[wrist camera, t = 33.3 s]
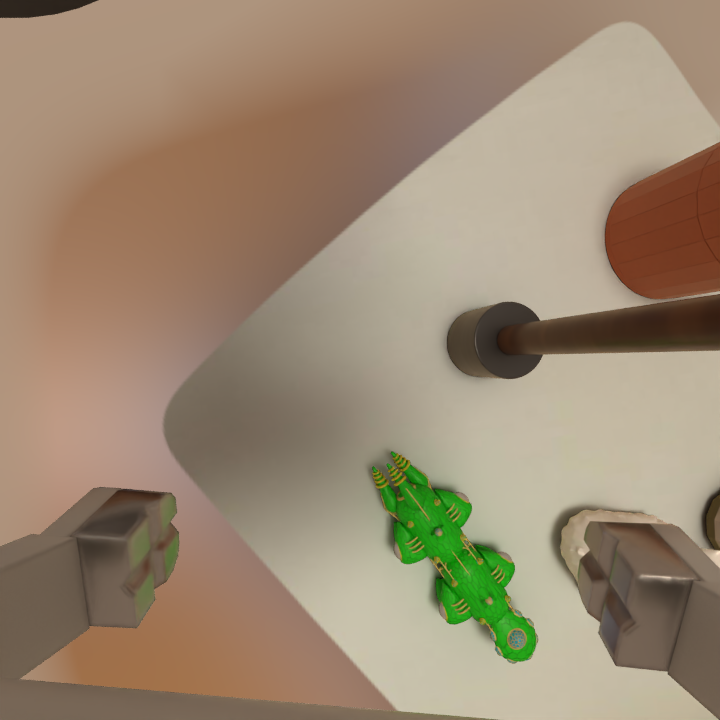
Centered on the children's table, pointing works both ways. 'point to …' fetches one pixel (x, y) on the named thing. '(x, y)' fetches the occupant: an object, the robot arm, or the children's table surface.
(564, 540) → the sitting furry creature
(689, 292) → the terracotta flower pot
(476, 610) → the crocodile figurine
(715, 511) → the bottle
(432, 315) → the children's table surface
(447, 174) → the children's table surface
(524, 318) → the rod on round base
